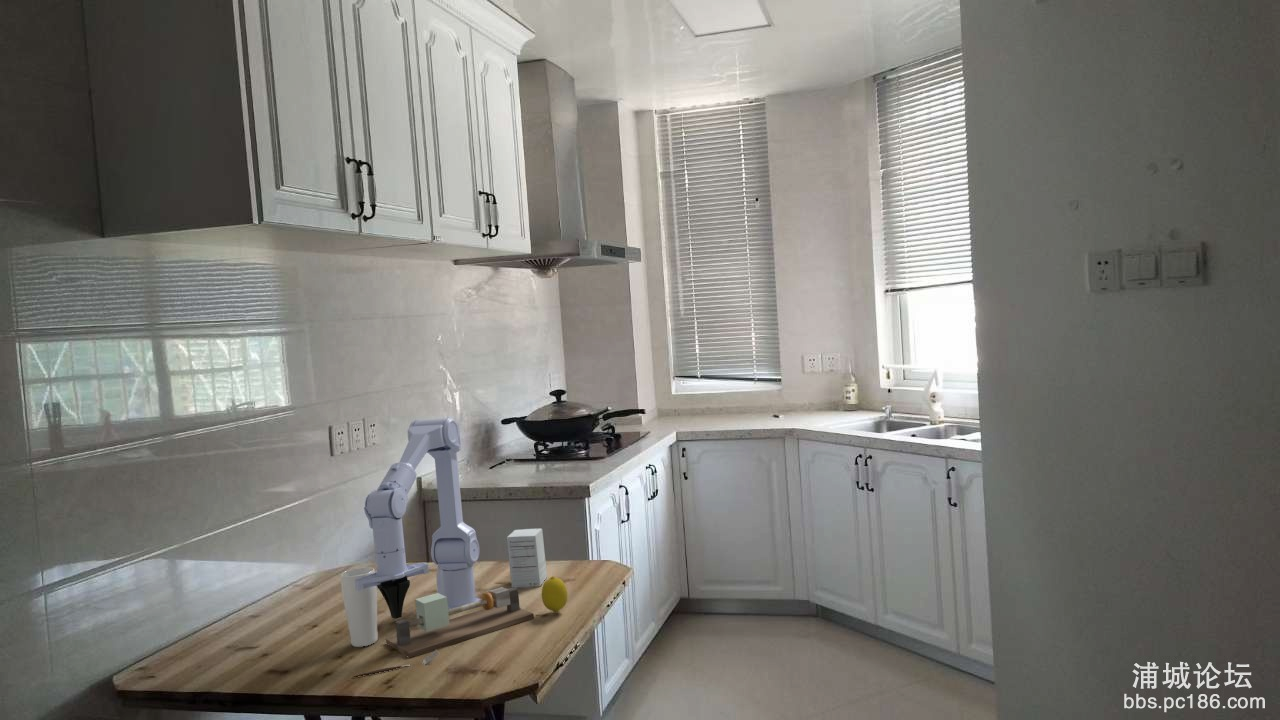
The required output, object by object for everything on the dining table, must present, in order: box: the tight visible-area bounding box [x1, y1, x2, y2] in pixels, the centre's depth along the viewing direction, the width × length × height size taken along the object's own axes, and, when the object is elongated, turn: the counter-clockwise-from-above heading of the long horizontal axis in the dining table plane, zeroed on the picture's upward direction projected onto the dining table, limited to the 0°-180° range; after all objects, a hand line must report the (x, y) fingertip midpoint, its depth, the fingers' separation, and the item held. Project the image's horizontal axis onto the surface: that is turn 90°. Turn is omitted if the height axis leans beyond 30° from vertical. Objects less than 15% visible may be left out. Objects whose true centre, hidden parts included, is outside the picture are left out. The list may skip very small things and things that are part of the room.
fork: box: [352, 649, 439, 678], centre depth 160 cm, size 3×16×2 cm, turn 112°
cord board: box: [385, 586, 535, 659], centre depth 178 cm, size 12×28×6 cm, turn 128°
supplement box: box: [506, 528, 548, 589], centre depth 209 cm, size 7×7×13 cm
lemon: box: [541, 575, 568, 614], centre depth 184 cm, size 6×6×8 cm
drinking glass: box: [340, 566, 379, 648], centre depth 176 cm, size 7×7×15 cm
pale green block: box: [414, 592, 450, 632], centre depth 175 cm, size 4×5×6 cm
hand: (396, 617), depth 170 cm, fingers closed
